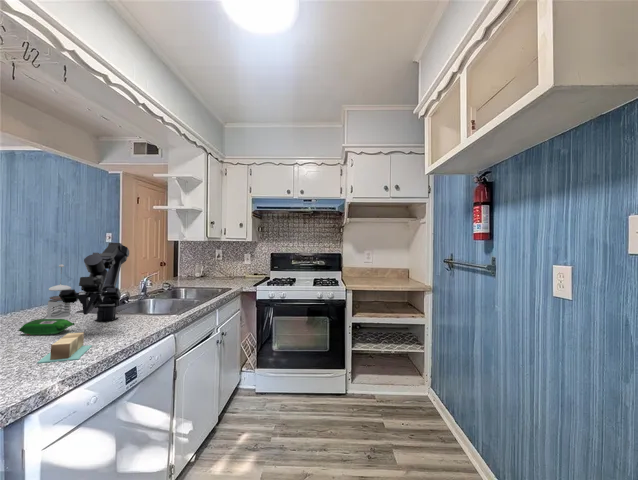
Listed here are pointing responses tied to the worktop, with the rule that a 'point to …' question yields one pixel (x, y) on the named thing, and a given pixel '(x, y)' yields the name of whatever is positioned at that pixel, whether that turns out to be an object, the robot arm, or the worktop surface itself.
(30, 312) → the worktop surface
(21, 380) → the worktop surface
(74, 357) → the rubber mat
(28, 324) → the snack package
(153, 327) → the worktop surface
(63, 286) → the french press
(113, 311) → the robot arm
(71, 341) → the maple block
